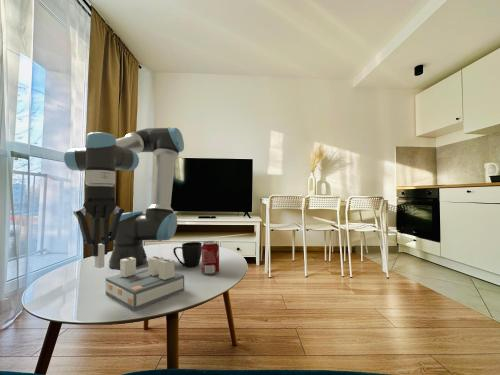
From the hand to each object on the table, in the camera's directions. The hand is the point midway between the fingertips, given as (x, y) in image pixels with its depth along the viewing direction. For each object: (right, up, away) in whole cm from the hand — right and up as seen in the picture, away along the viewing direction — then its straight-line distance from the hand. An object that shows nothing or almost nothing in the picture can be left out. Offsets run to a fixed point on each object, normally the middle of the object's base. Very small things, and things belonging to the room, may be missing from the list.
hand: (99, 266), depth 70 cm
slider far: (+5, -5, +7) cm, 9 cm away
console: (+11, -10, +6) cm, 16 cm away
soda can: (+28, -11, +24) cm, 39 cm away
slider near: (+18, -5, +4) cm, 19 cm away
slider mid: (+13, -5, +8) cm, 16 cm away
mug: (+17, -11, +32) cm, 38 cm away
